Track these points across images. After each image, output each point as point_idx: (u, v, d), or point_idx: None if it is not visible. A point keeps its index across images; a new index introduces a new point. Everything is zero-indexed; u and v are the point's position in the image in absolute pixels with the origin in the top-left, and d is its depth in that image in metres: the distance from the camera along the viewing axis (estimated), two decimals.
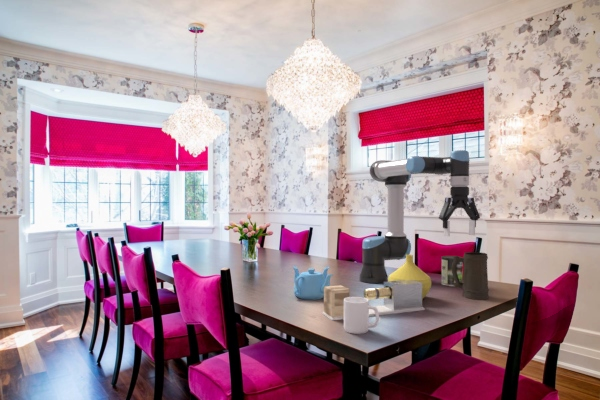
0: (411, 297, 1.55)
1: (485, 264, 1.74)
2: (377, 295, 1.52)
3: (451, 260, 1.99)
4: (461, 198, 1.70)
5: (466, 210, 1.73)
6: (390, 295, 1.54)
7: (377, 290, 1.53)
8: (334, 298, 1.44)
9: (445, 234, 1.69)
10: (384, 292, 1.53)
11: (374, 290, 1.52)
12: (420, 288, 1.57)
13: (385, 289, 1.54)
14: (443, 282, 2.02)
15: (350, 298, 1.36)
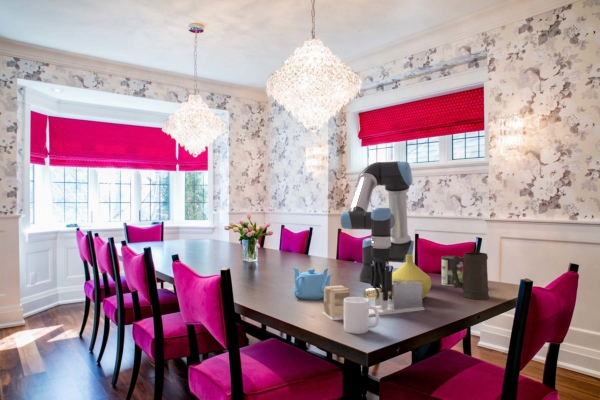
0: (411, 297, 1.55)
1: (485, 264, 1.74)
2: (377, 295, 1.52)
3: (451, 260, 1.99)
4: (378, 260, 1.54)
5: None
6: (390, 295, 1.54)
7: (377, 290, 1.53)
8: (334, 298, 1.44)
9: None
10: None
11: (374, 290, 1.52)
12: (420, 288, 1.57)
13: None
14: (443, 282, 2.02)
15: (350, 298, 1.36)
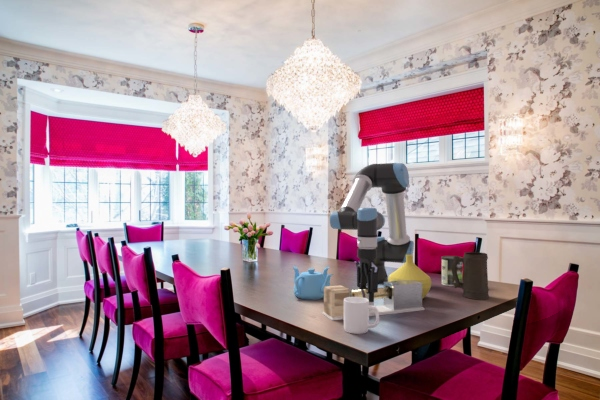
0: (411, 297, 1.55)
1: (485, 264, 1.74)
2: (363, 297, 1.50)
3: (451, 260, 1.99)
4: (364, 261, 1.52)
5: None
6: (376, 296, 1.52)
7: (363, 291, 1.50)
8: (334, 298, 1.44)
9: None
10: None
11: (360, 291, 1.50)
12: (420, 288, 1.57)
13: None
14: (443, 282, 2.02)
15: (350, 298, 1.36)
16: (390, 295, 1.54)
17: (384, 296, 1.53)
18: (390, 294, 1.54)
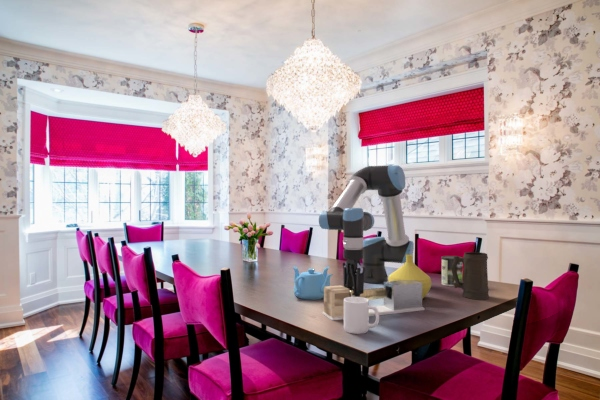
0: (411, 297, 1.55)
1: (485, 264, 1.74)
2: None
3: (451, 260, 1.99)
4: (350, 262, 1.50)
5: None
6: None
7: (349, 292, 1.48)
8: (334, 298, 1.44)
9: None
10: None
11: None
12: (420, 288, 1.57)
13: None
14: (443, 282, 2.02)
15: (350, 298, 1.36)
16: (377, 296, 1.52)
17: (370, 297, 1.51)
18: (377, 295, 1.52)
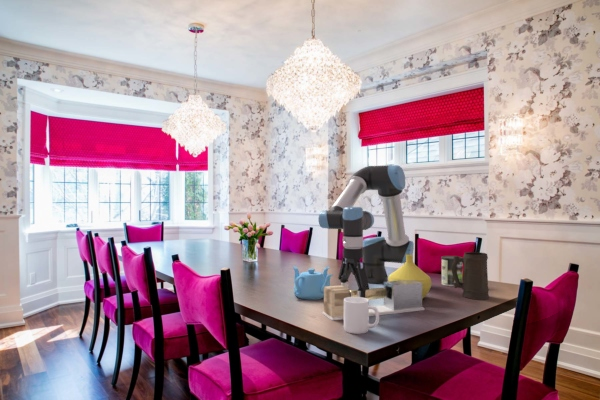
0: (411, 297, 1.55)
1: (485, 264, 1.74)
2: None
3: (451, 260, 1.99)
4: (350, 261, 1.50)
5: None
6: None
7: (349, 292, 1.48)
8: (334, 298, 1.44)
9: None
10: (356, 295, 1.49)
11: None
12: (420, 288, 1.57)
13: None
14: (443, 282, 2.02)
15: (350, 298, 1.36)
16: (377, 296, 1.52)
17: (371, 297, 1.51)
18: (377, 295, 1.52)
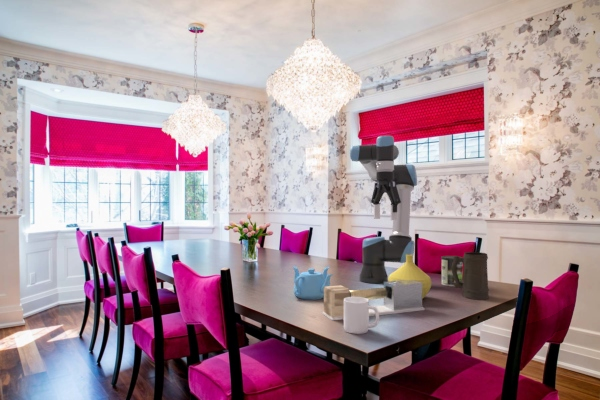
0: (411, 297, 1.55)
1: (485, 264, 1.74)
2: None
3: (451, 260, 1.99)
4: (383, 183, 1.74)
5: None
6: None
7: (349, 292, 1.48)
8: (334, 298, 1.44)
9: None
10: (356, 295, 1.49)
11: None
12: (420, 288, 1.57)
13: (358, 291, 1.50)
14: (443, 282, 2.02)
15: (350, 298, 1.36)
16: (377, 296, 1.52)
17: (371, 297, 1.51)
18: (377, 295, 1.52)
